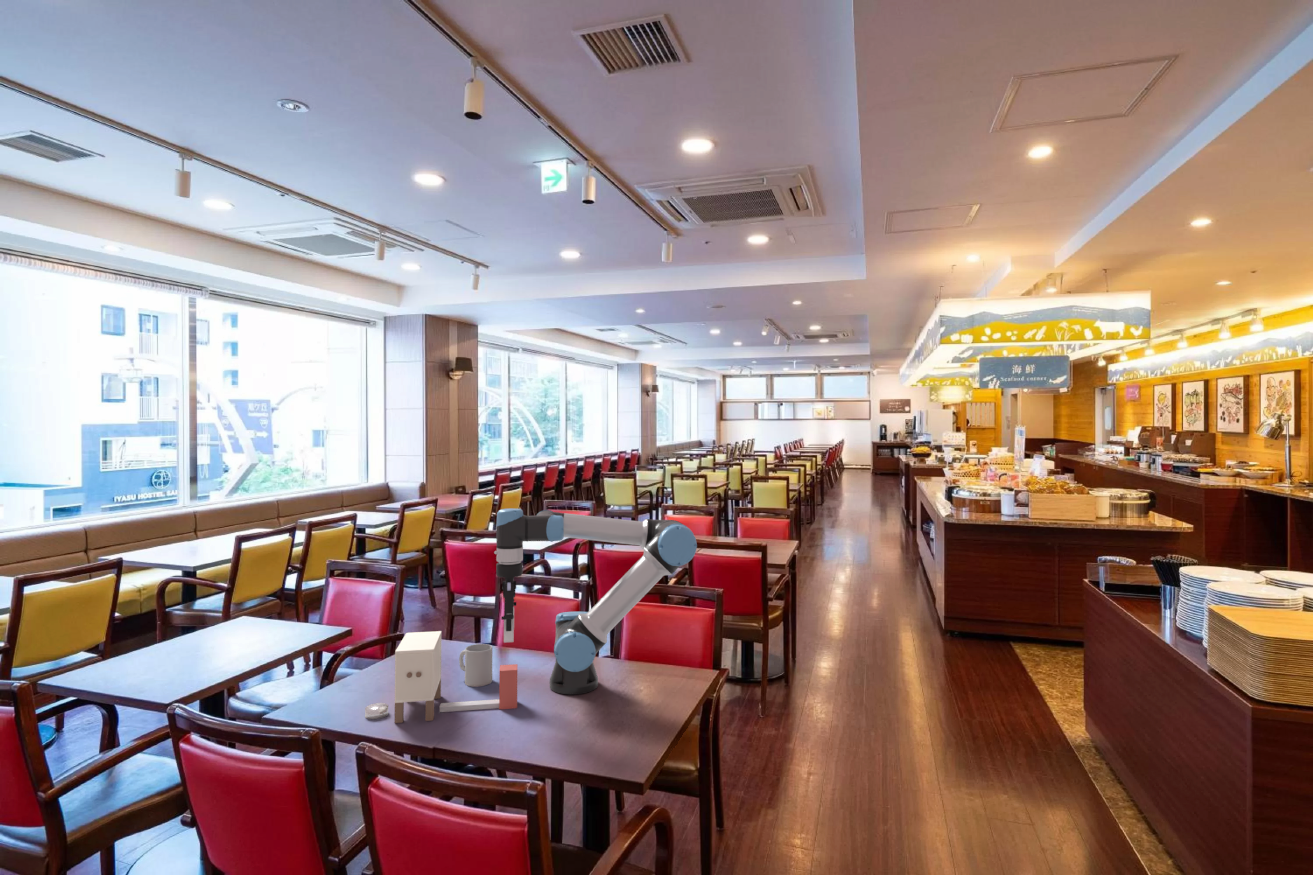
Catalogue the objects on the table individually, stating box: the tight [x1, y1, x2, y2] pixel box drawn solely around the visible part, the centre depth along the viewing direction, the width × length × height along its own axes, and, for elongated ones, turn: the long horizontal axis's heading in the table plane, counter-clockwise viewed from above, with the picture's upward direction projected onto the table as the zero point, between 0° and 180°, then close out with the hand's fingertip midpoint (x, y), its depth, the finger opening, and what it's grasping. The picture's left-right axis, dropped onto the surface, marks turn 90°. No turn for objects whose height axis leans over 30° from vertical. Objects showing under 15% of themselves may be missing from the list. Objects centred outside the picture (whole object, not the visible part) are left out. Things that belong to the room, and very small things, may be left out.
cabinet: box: [394, 630, 442, 724], centre depth 190 cm, size 10×19×20 cm, turn 11°
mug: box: [458, 643, 493, 688], centre depth 213 cm, size 12×8×11 cm
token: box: [364, 702, 389, 720], centre depth 186 cm, size 6×6×2 cm
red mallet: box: [439, 663, 519, 713], centre depth 192 cm, size 22×5×11 cm, turn 101°
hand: (509, 635), depth 194 cm, fingers open, 13 cm apart
